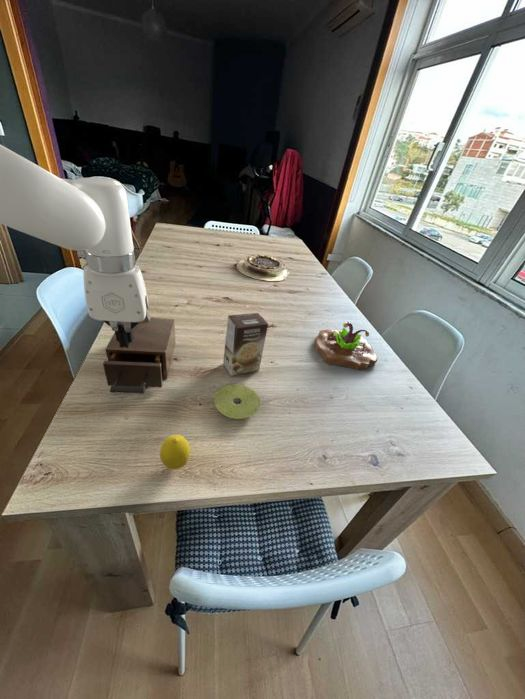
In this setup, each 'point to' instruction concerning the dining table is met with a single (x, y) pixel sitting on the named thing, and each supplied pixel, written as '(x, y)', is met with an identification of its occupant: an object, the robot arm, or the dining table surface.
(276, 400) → the dining table surface
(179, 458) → the lemon
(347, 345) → the plant
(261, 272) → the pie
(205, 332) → the dining table surface
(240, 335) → the coffee box
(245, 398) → the green disc
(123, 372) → the drawer
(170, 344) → the cabinet
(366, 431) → the dining table surface
